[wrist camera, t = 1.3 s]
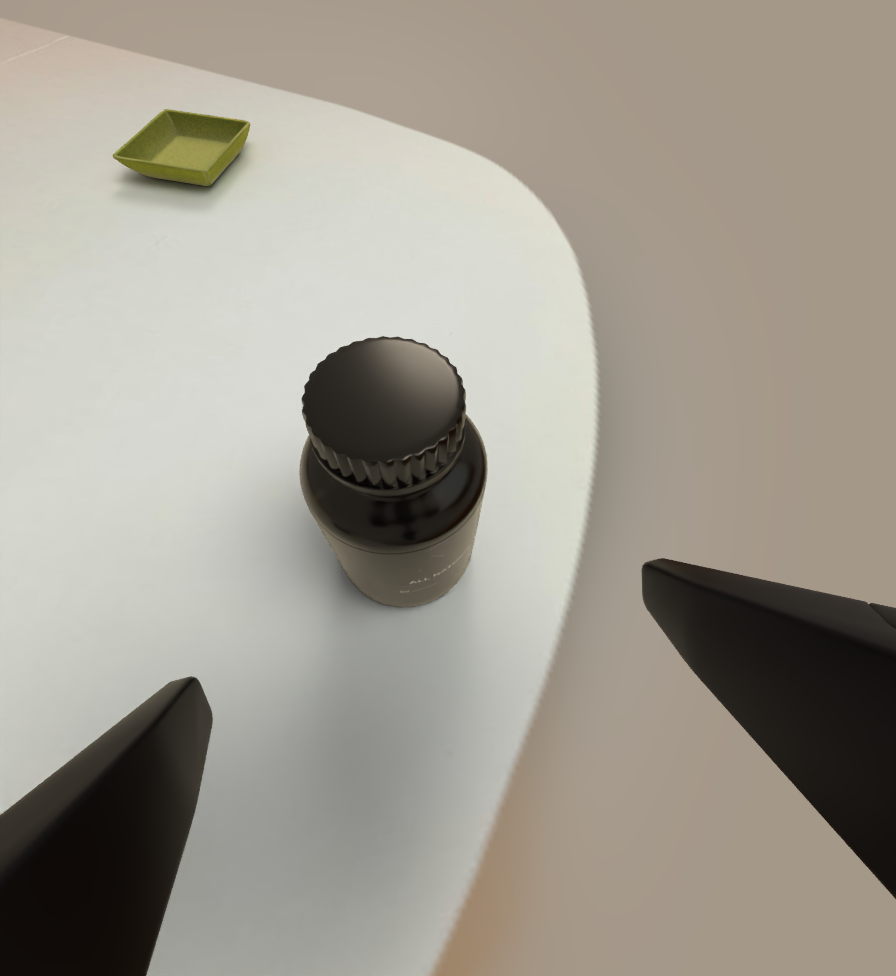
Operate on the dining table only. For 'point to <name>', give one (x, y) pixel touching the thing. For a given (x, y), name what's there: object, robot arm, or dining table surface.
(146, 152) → the olive green square dish
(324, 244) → the dining table surface
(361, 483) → the supplement bottle
